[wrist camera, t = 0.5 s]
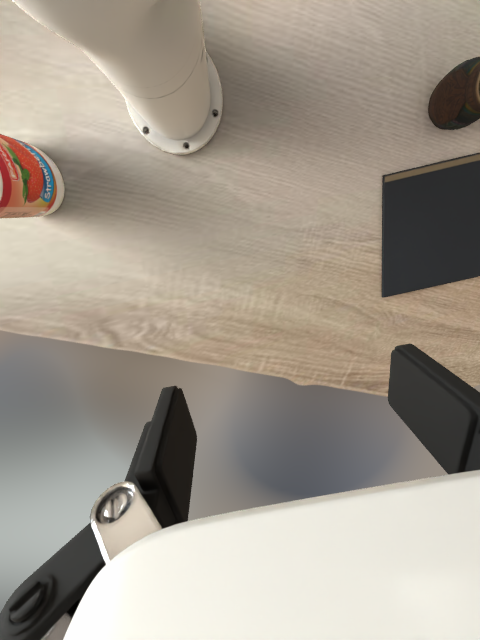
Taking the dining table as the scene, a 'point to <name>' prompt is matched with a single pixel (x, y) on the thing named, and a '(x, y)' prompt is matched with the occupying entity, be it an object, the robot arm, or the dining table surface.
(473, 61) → the mate gourd
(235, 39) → the dining table surface
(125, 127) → the dining table surface
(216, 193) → the dining table surface
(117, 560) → the robot arm
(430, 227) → the mat
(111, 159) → the dining table surface
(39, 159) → the strawberry milk bottle
